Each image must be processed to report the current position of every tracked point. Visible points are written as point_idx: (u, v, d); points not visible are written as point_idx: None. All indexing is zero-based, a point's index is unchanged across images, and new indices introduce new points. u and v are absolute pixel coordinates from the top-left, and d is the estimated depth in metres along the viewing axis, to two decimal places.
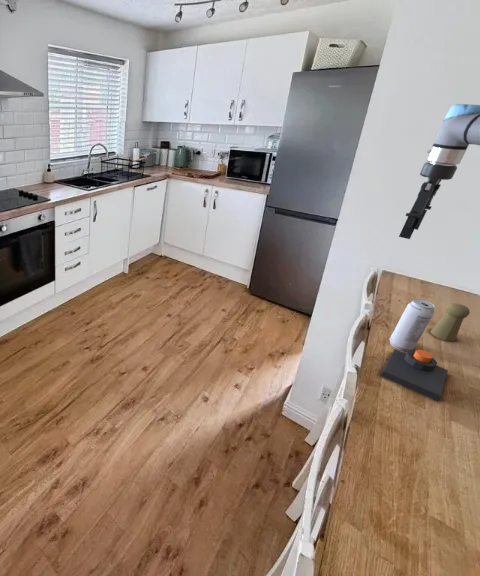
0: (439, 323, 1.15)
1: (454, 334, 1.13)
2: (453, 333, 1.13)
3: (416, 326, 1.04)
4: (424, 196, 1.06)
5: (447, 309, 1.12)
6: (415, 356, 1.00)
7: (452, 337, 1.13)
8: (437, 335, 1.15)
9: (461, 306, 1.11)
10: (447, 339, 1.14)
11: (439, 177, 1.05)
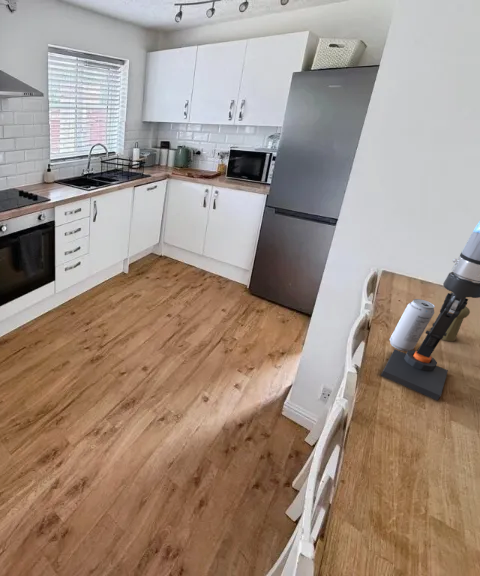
0: None
1: (454, 334, 1.13)
2: (453, 333, 1.13)
3: (416, 326, 1.04)
4: (446, 322, 0.90)
5: None
6: (414, 357, 1.00)
7: (452, 337, 1.13)
8: None
9: None
10: (447, 339, 1.14)
11: (468, 295, 0.87)
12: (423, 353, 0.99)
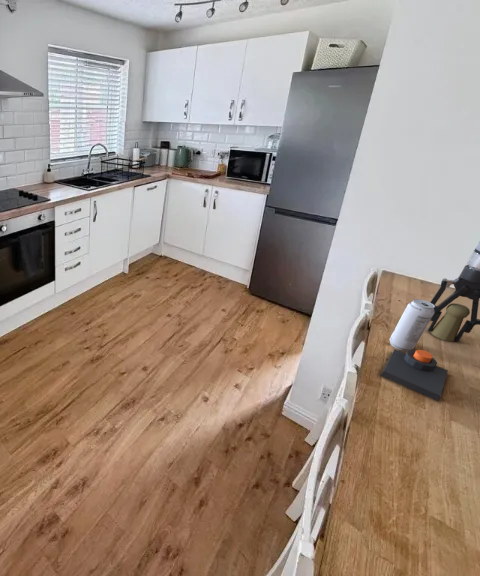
0: (439, 323, 1.15)
1: (454, 334, 1.13)
2: (453, 333, 1.13)
3: (416, 326, 1.04)
4: (437, 291, 1.13)
5: (447, 309, 1.12)
6: (415, 356, 1.00)
7: (452, 337, 1.13)
8: (437, 335, 1.15)
9: (461, 306, 1.11)
10: (447, 339, 1.14)
11: (460, 275, 1.08)
12: (429, 327, 1.18)
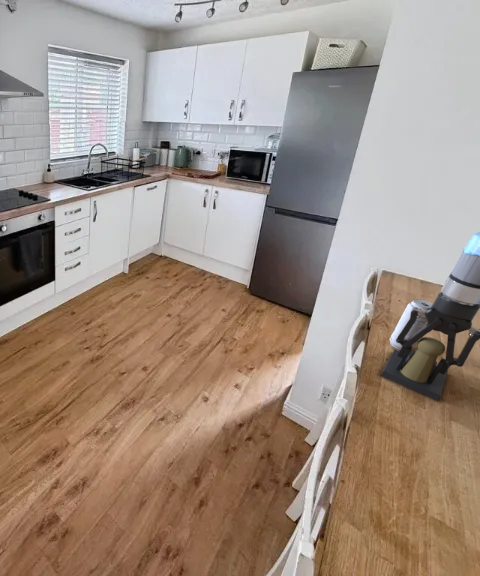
0: (409, 360, 0.95)
1: (427, 374, 0.93)
2: (426, 373, 0.93)
3: (416, 326, 1.04)
4: (407, 322, 0.94)
5: (418, 344, 0.93)
6: None
7: (424, 378, 0.93)
8: (407, 375, 0.95)
9: (435, 341, 0.91)
10: (419, 380, 0.94)
11: (433, 305, 0.88)
12: (398, 364, 0.98)
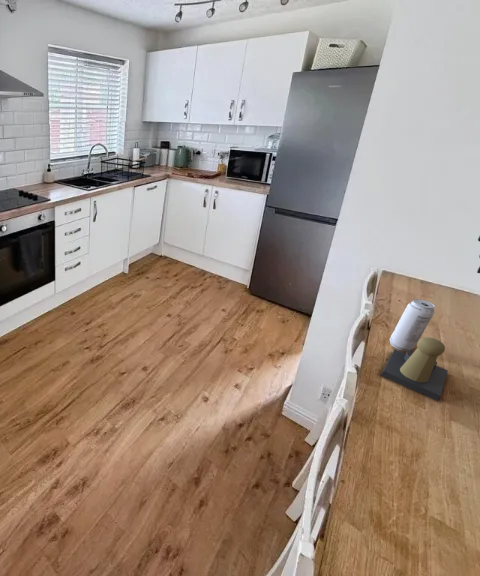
0: (409, 360, 0.95)
1: (427, 374, 0.93)
2: (426, 373, 0.93)
3: (416, 326, 1.04)
4: None
5: (418, 344, 0.93)
6: None
7: (424, 378, 0.93)
8: (407, 375, 0.95)
9: (435, 341, 0.91)
10: (418, 380, 0.94)
11: None
12: (478, 268, 0.90)
